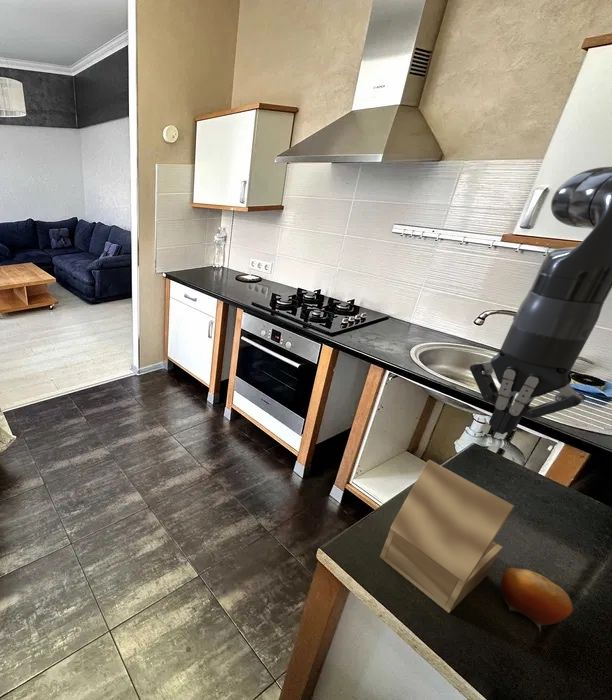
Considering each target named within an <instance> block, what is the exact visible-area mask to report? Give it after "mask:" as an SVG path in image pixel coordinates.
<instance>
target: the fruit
mask: <svg viewBox="0 0 612 700" xmlns="http://www.w3.org/2000/svg"><path fill="white" fill-rule="evenodd" d="M500 589H501V596H502V598H503V601H504V602H505V604H506V605H507V607H508V611H510V612H511V611H513V612H516V613H519V614H521V615H523V616H525V617H527V619H529V620H530V621H531V622H533V623H534V624H535V625H536V626H537V627H538V631H539V633H541V632H542V627H541V626H550V625H555V624H558V623H561V621H563V620H565V619H566V618H567V617H569V616H570V615H571V614H572V613H573V612H574V606H573V602H572V600H571V598H570V596H569V594H568V593H567V592H566V591H565V590H564V589H563V588H562V587H560V586H559V585H558V584H556V583H554V582H553V581H552V580H550V579H548V578H547V577H546V576H544V575H542V574H540V573H537V572H535V571H532V570H530V569H525V568H518V567H508V568H506V569H505V571H504V573H502V577H501V580H500Z"/></svg>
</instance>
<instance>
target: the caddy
mask: <svg viewBox="0 0 612 700" xmlns="http://www.w3.org/2000/svg"><path fill="white" fill-rule="evenodd" d="M503 549H504V548H503V546H502V545H501V544H498V543H497V542H495V541H494V540H493V542H492V543H491V545H490V546H489V548H488V549H487V551H486V552H485V554H484V555H483V557H482V559H481V560H480V562H479V563H478V565H477V566H476V568H475V569H474V571H473V573H472V574H471V576H470V577H469V579H468V580H467V582H465V583H464V582H463V581H462V580H460V579H459V578H457V577H456V576H455V575H453V574H452V573H451V572H449V571H448V570H447V569H445V568H444V567H442V566H441V565H440V564H438V563H437V562H436V561H434V560H433V559H432V558H430V557H429V556H427V555H426V554H425V553H423V552H422V551H421V550H419V549H418V548H417V547H415V546H414V545H413V544H411V543H410V542H408V541H407V540H406V539H404V538H403V537H402V536H400V535H399V534H398V533H396V532H395V531H393V530H392V529H391V528H390V529H389V531H388V534H387V537H386V539H385V542H384V545H383V548H382V550H381V553H380V554H379V555H380V556H379V558H380V559H381V560H383V561H384V562H385V563H386V564H387V565H389V566H390V567H391V568H392V569H393V570H395V571H396V572H397V573H398V574H400V575H401V576H402V577H403V578H405V579H406V580H407V581H409V583H411V584H412V585H413V586H415V587H416V588H417V589H418V590H420V591H421V592H422V593H423V594H424V595H426V596H427V597H428V598H429V599H431V600H432V601H433V602H434V603H436V605H438V606H439V607H441V608H442V609H443V610H444V611H446V612H447V614H450V613H451V612H452V611H453V610H454V609H456V607H457V606H458V605H459V604H460V603H461V602H462V601H463V600H464V599H465V598H466V597H467V596H468V595H469V594H470V593H471V592H472V591H473V590H474V589H475V588H476V587H477V586H478V585H479V584H480V583H481V582H482V581H483V580H484V579H485V578H486V577H487V576H488V575H489V573H490V571H491V569H492V568H493V566H494V564H495V562H496V560H497V558H498V557H499V555H500V553H501V552H502V550H503Z"/></svg>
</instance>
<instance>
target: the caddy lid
mask: <svg viewBox="0 0 612 700" xmlns="http://www.w3.org/2000/svg"><path fill="white" fill-rule="evenodd" d="M408 493H409V494H408V495H407V497H406V499H405V500H404V502H403V504H402V506H401V508H400V509H399V511H398V513H397V515H396V517H395V518H394V520H393V522H392V524H391V525H390V530H391V529H392V530H393V531H395V532H396V533H398V534H399V535H400V536H402V537H403V538H404V539H406V540H407V541H408V542H410V543H411V544H413V545H414V546H415V547H417V548H418V549H419V550H421V551H422V552H423V553H425V554H426V555H427V556H429V557H430V558H432V559H433V560H434V561H436V562H437V563H438V564H440V565H441V566H442V567H444V568H445V569H447V570H448V571H449V572H451V573H452V574H453V575H455V576H456V577H457V578H459V579H460V580H462V581H463V582H464V583H465V582H467V580H468V579H469V577H470V576H471V574H472V573H473V571H474V569H475V568H476V566H477V565H478V563H479V562H480V560H481V559H482V557H483V555H484V554H485V552H486V551H487V549H488V548H489V546H490V545H491V543H492V542H493V541H494V540H495V538H496V537H497V536H498V534H499V533H500V531H501V529H502V527H503V526H504V525H505V523H506V522H507V520H508V518H509V517H510V515H511V514H512V512H513V511H514V509H515V508H516V506H515V505H514V504H512V503H510V502H509V501H506V500H505V499H503V498H501V497H499V496H497V495H496V494H494V493H492V492H490V491H488V490H486V489H485V488H483V487H481V486H479V485H477V484H476V483H473V482H472V481H469V480H468V479H466V478H464V477H462V476H460V475H458V474H457V473H456V472H453V471H451V470H449V469H448V468H446V467H444V466H443V465H440V464H438V463H437V462H435V461H434V460H431V459H428V460H427V461H426V463H425V465H424V466H423V468H422V470H421V472H420V474H419V475H418V477H417V479H416V481H415V483H414V484H413V486H412V488H411V490H410V491H409V492H408Z"/></svg>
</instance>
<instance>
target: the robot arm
mask: <svg viewBox="0 0 612 700" xmlns="http://www.w3.org/2000/svg"><path fill="white" fill-rule="evenodd" d="M550 211H551V214H552V216H553V217H554V218H555V219H556V220H557V221H558V222H560V223H562V225H563V224H564V225H566V226H569V227H574V228H580V229H590V230H591V229H592V230H591V231H590V232H589V233H588V234H587V236H586V237H584V239H583V240H582V241H581V242H580V243H579V244H578V245H576V246H574V247H571V246H570V247H562V248H556V249H553V250H551V251H550V252H548V253H547V254H546V255H545V257H544V258H543V259H542V261H541V264H539V267H538V270H537V272H536V275H535V276H534V278H533V281H532V283H531V286H530V288H529V290H528V292H527V294H526V296H525V297H524V299H522V301H521V303H520V304H519V307H518V309H517V311H516V312H515V313H514V316H513V318H512V323H511V325H510V327H509V329H508V332H507V333H506V336H505V338H504V340H503V343H502V345H501V346H500V350H499V352H498V353H497V354H496V355H494V356H493V357H491V359H490V360H489V361H477V362H475V363H473V364H471V365H470V366H469V370H470V373H471V374H472V377H473V379H474V381H475V383H476V386H477V388H478V390H479V392H480V394H481V396H482V399H483V400H484V401H485V402H490V403H491V404H492V405H493V406H494V410H493V412H492V415H491V417H490V418H489V420H488V425H489V427H491V429H490V430H491V431H493V432H495V433H498V434H499V435H502V436H504V435H505V434H510V433H512V432H513V431H514V430H516V429H517V427H518V424H519V423H520V421H521V420H522V417H527V418H530V419H537V418H540V417H543V416H547V415H550V414H554V413H556V412H560V411H563V410H567V409H571V408H574V407H577V406H579V405H580V404H581V403H583V402H584V401H586V400H587V399H586V398H587V397H586V395H585V394H583V393H582V392H581V393H580V392H578V391H576V390H575V389H574V387H573V386H571V382H572V376H571V372H572V370H573V369H572V368H573V367H574V365H575V363H576V361H577V360H578V359H579V356H580V354H581V352H582V350H583V349H584V347H585V345H586V343H587V341H588V339H589V337H590V336H591V334H592V332H593V330H594V328H595V327H596V324H597V323H598V320H599V319H600V316H601V312H602V310H603V307H604V304H605V302H606V300H607V298H608V297H609V294H610V292H611V291H612V166H601V167H595V168H594V167H593V168H590V169H587V170H584V171H582V172H579V173H577V174H575V175H574V176H571V178H569V179H567V180H566V181H564V182H563V183H562V184H561V185H560V186H559V187H558V188H557V189H556V191H555V192H554V193H553V196H552V198H551V201H550ZM493 373H494V375H495V377H496V379H497V382H498V384H499V385H500V386H499V389H498V387H497V384H496V383H495V380H494V378H493V376H492V374H493ZM558 390H559V392H558V393H556V394H555V396H554V400H551V401H548V402H544V403H541V404H538V405H536V406H533V405H531V403H532V402H533V401H534V399H536V398H537V397H538V398H539V397H542V396H544V395H547V394H549V393H552V392H554V391H558Z"/></svg>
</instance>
